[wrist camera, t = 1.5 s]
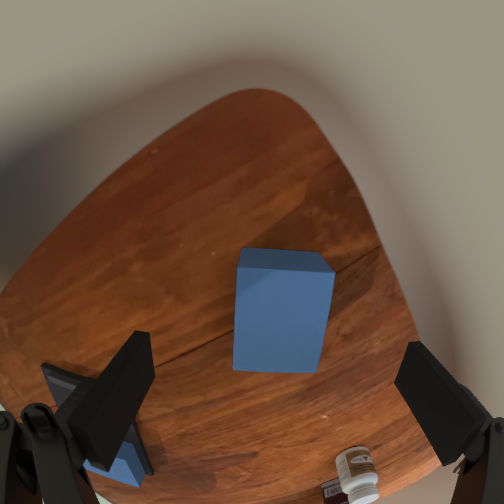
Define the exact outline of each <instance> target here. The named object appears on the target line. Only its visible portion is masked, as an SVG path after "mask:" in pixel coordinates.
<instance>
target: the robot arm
mask: <svg viewBox="0 0 504 504" xmlns="http://www.w3.org/2000/svg"><path fill="white" fill-rule="evenodd" d="M154 378H155V372H154V365H153V358H152V350H151V342H150V333H149V332H143V331H136V330H135V331H134V332H133V334H132V335H131V336H130V337H129V339H128V340H127V341H126V343H125V344H124V345H123V346H122V348H121V349H120V350H119V351H118V353H117V354H116V355H115V356H114V358H113V359H112V360H111V362H110V363H109V364H108V366H107V367H106V368H105V369H104V371H103V372H102V373H101V375H100V376H99V377H98V379H97V380H96V379H93V378H90V377H88V378H86V379H85V380H83V381H81V382H80V383H79V384H78V385H77V386H76V387H75V389H74V390H73V392H71V394H70V395H69V397H68V398H67V399H66V400H65V401H64V402H63V404H62V405H61V406H60V407H59V409H58V410H57V411H56V413H55V414H53V412H52V410H51V408H50V407H49V406H47V405H46V404H43V403H33V404H29V405H28V406H26V407H25V408H24V409H23V410H22V412H21V417H20V418H21V419H22V421H23V423H24V424H23V423H19V422H17V421H16V420H15V418H14V416H13V415H12V414H11V413H10V412H7V411H0V504H43V501H44V504H100V503H99V501H98V499H97V497H96V495H95V492H94V490H93V487H92V485H91V482H90V480H89V477H88V475H87V472H86V469H85V467H84V466H83V464H84V462H85V460H86V459H87V460H88V462H89V463H90V465H91V466H92V467H94V468H97V469H100V470H102V471H105V472H108V473H109V471H110V469H111V466H112V464H113V462H114V460H115V458H116V456H117V454H118V452H119V449H120V447H121V445H122V443H123V441H124V439H125V437H126V435H127V433H128V431H129V428H130V426H131V424H132V422H133V420H134V418H135V416H136V414H137V412H138V410H139V408H140V406H141V404H142V402H143V400H144V398H145V396H146V394H147V392H148V390H149V388H150V386H151V384H152V382H153V380H154ZM394 384H395V385H396V387H397V388H398V390H399V392H400V393H401V395H402V396H403V398H404V400H405V401H406V403H407V405H408V406H409V408H410V409H411V411H412V413H413V414H414V416H415V418H416V420H417V421H418V423H419V425H420V426H421V428H422V430H423V431H424V433H425V435H426V437H427V438H428V440H429V442H430V444H431V445H432V447H433V449H434V451H435V452H436V454H437V456H438V458H439V460H440V461H441V463H442V465H443V466H446V465H449V464H450V463H453V462H456V460H457V459H458V458H459V457H460V456H461V454H462V453H463V454H464V455H465V458H464V459H463V460H462V461H461V462H460V463H459V465H458V466H457V467H456V468H455V469H454V471H453V473H455V472H456V471H457V470H458V469H459V468H460V471H459V472H458V474H459V476H458V479H457V483H456V487H455V490H454V494H453V497H452V500H451V503H450V504H504V418H501V417H497V418H493V417H492V416H491V415H490V414H489V412H488V411H487V410H486V409H485V408H484V406H483V405H482V404H481V403H480V402H479V401H478V399H477V398H476V397H475V396H474V395H473V394H472V392H471V391H470V390H469V389H468V388H466V387H465V386H463V385H462V384H459V383H458V382H457V381H456V380H455V379H454V378H453V377H452V375H450V374H449V372H448V371H447V370H446V369H445V368H444V367H443V366H442V364H441V363H440V362H439V361H438V360H437V359H436V358H435V357H434V356H433V355H432V353H431V352H430V351H429V350H428V349H427V348H426V347H425V346H424V345H423V344H422V343H421V342H420V341H415V342H409V343H408V346H407V349H406V352H405V355H404V358H403V361H402V363H401V366H400V369H399V371H398V374H397V377H396V379H395V382H394ZM42 497H43V500H42Z"/></svg>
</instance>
